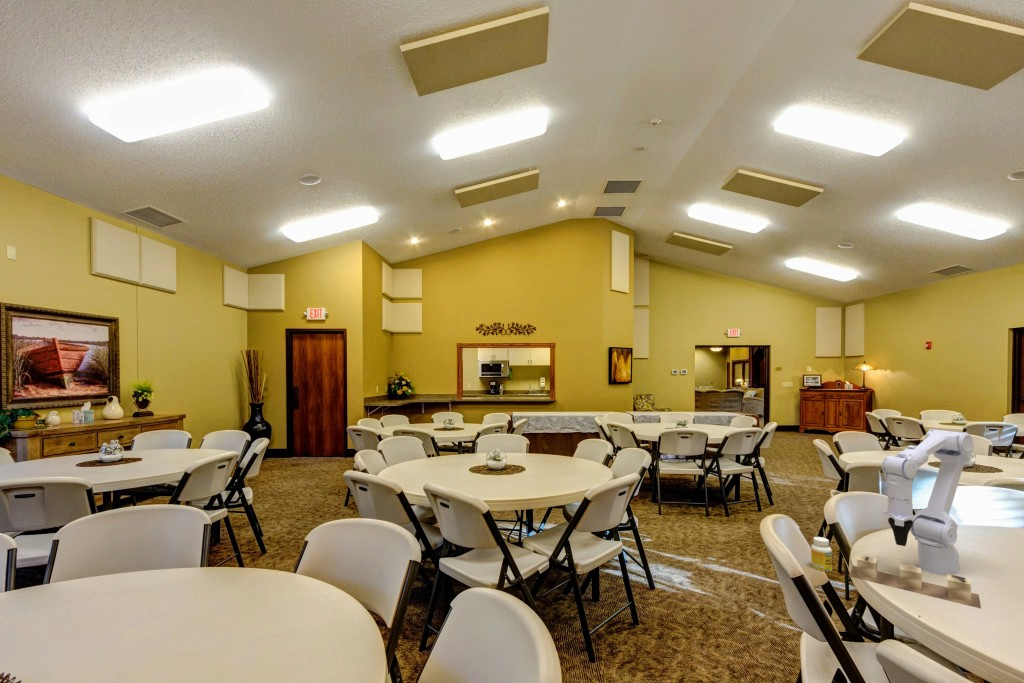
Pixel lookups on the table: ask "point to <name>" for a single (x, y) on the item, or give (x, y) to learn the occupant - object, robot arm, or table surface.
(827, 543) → the supplement bottle
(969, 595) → the block seven
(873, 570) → the block one
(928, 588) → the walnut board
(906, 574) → the plain block
